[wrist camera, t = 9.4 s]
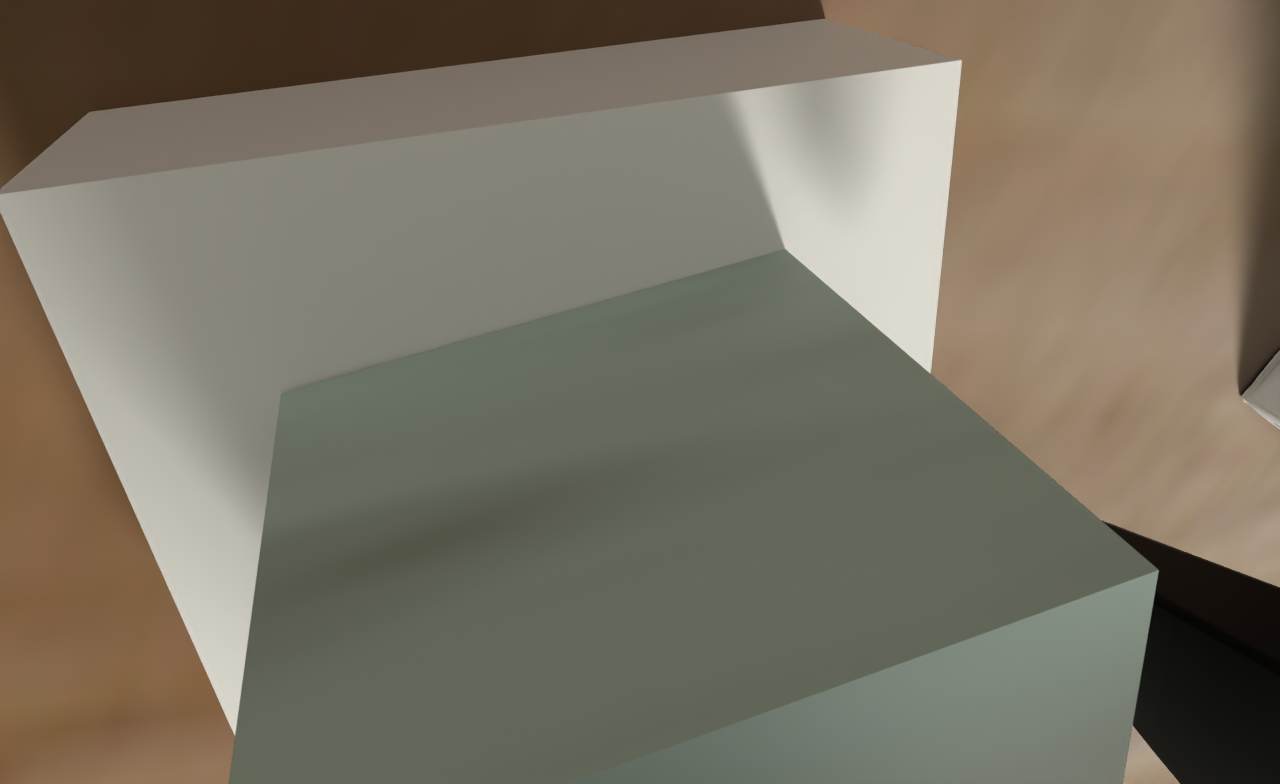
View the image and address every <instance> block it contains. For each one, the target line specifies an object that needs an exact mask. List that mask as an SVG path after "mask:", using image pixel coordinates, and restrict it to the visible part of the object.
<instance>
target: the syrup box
mask: <svg viewBox="0 0 1280 784" xmlns="http://www.w3.org/2000/svg"><path fill="white" fill-rule="evenodd" d="M1242 399H1243V401H1244V402H1245V403H1247V404H1249V405H1250V406H1251V407H1252V408H1253V409H1254V410H1255V411H1256V412H1258V413H1259V414H1260V415H1261V416H1263V417H1264V418H1265V419H1266V420H1268V421H1269V422H1270V423H1272V424H1273V425H1275V426H1276V427H1277V428H1279V429H1280V350H1279V351H1278V353H1277V354H1276V355H1275V356H1274V357H1273V359H1272V360H1271V361H1270V362H1269V363H1268V365H1267V366H1266V367H1265V368H1264V370H1263V371H1262V372H1261V373H1260V374H1259V376H1258V377H1257V378H1256V380H1255V381H1254V382H1253V384H1252V385H1251V386H1250V387H1249V388H1248V389H1247V390H1246V391H1245V392H1244V394H1243V395H1242Z"/></svg>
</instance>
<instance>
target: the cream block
mask: <svg viewBox="0 0 1280 784" xmlns="http://www.w3.org/2000/svg"><path fill="white" fill-rule="evenodd" d="M961 65H962V60H960V59H957V58H954V57H950V56H947V55H944V54H940V53H937V52H934V51H931V50H927V49H924V48H921V47H917V46H914V45H911V44H907V43H904V42H901V41H898V40H894V39H891V38H888V37H884V36H881V35H878V34H875V33H871V32H868V31H865V30H861V29H858V28H855V27H852V26H848V25H845V24H842V23H838V22H835V21H832V20H828V19H818V20H810V21H802V22H794V23H786V24H779V25H771V26H763V27H755V28H747V29H739V30H731V31H723V32H715V33H708V34H700V35H692V36H684V37H676V38H668V39H660V40H652V41H644V42H637V43H629V44H621V45H613V46H605V47H597V48H589V49H581V50H573V51H565V52H558V53H550V54H542V55H534V56H526V57H518V58H510V59H502V60H494V61H487V62H479V63H471V64H463V65H455V66H447V67H439V68H431V69H423V70H416V71H408V72H400V73H392V74H384V75H376V76H368V77H360V78H352V79H345V80H337V81H329V82H321V83H313V84H305V85H297V86H289V87H281V88H274V89H266V90H258V91H250V92H242V93H234V94H226V95H218V96H210V97H203V98H195V99H187V100H179V101H171V102H163V103H155V104H147V105H139V106H132V107H124V108H116V109H108V110H100V111H92V112H89V113H88V114H86V115H85V116H84V117H83V118H82V119H81V120H79V121H78V122H77V123H76V124H75V125H74V126H72V127H71V128H70V129H69V130H68V131H67V132H66V133H64V134H63V135H62V136H61V137H60V138H59V139H57V140H56V141H55V142H54V143H53V144H52V145H50V146H49V147H48V148H47V149H46V150H45V151H44V152H42V153H41V154H40V155H39V156H38V157H37V158H35V159H34V160H33V161H32V162H31V163H30V164H29V165H27V166H26V167H25V168H24V169H23V170H22V171H20V172H19V173H18V174H17V175H16V176H15V177H13V178H12V179H11V180H10V181H9V182H8V183H7V184H5V185H4V186H3V187H2V188H1V189H0V213H1V215H2V217H3V219H4V222H5V224H6V226H7V228H8V231H9V233H10V235H11V237H12V239H13V242H14V244H15V246H16V248H17V251H18V253H19V255H20V257H21V260H22V262H23V264H24V266H25V268H26V271H27V273H28V275H29V277H30V280H31V282H32V284H33V286H34V289H35V291H36V293H37V295H38V298H39V300H40V302H41V304H42V306H43V309H44V311H45V313H46V315H47V318H48V320H49V322H50V324H51V327H52V329H53V331H54V333H55V335H56V338H57V340H58V342H59V344H60V347H61V349H62V351H63V353H64V356H65V358H66V360H67V362H68V364H69V367H70V369H71V371H72V373H73V376H74V378H75V380H76V382H77V385H78V387H79V389H80V391H81V393H82V396H83V398H84V400H85V402H86V405H87V407H88V409H89V411H90V414H91V416H92V418H93V420H94V422H95V425H96V427H97V429H98V431H99V434H100V436H101V438H102V440H103V443H104V445H105V447H106V449H107V452H108V454H109V456H110V458H111V460H112V463H113V465H114V467H115V469H116V472H117V474H118V476H119V478H120V481H121V483H122V485H123V487H124V489H125V492H126V494H127V496H128V498H129V501H130V503H131V505H132V507H133V510H134V512H135V514H136V516H137V518H138V521H139V523H140V525H141V527H142V530H143V532H144V534H145V536H146V539H147V541H148V543H149V545H150V547H151V550H152V552H153V554H154V556H155V559H156V561H157V563H158V565H159V568H160V570H161V572H162V574H163V577H164V579H165V581H166V583H167V585H168V588H169V590H170V592H171V594H172V597H173V599H174V601H175V603H176V606H177V608H178V610H179V612H180V614H181V617H182V619H183V621H184V623H185V626H186V628H187V630H188V632H189V635H190V637H191V639H192V641H193V643H194V646H195V648H196V650H197V652H198V655H199V657H200V659H201V661H202V664H203V666H204V668H205V670H206V672H207V675H208V677H209V679H210V681H211V684H212V686H213V688H214V690H215V693H216V695H217V697H218V699H219V701H220V704H221V706H222V708H223V710H224V713H225V715H226V717H227V719H228V722H229V724H230V726H231V728H232V731H233V733H234V735H235V733H236V726H237V718H238V711H239V703H240V696H241V688H242V681H243V674H244V666H245V659H246V651H247V644H248V636H249V629H250V621H251V614H252V606H253V599H254V591H255V584H256V576H257V569H258V561H259V554H260V546H261V539H262V531H263V524H264V517H265V509H266V502H267V494H268V487H269V479H270V472H271V464H272V457H273V449H274V442H275V434H276V427H277V419H278V412H279V404H280V397H281V393H285V392H288V391H292V390H295V389H299V388H302V387H306V386H309V385H313V384H316V383H320V382H323V381H327V380H330V379H334V378H337V377H341V376H344V375H347V374H351V373H354V372H358V371H361V370H365V369H368V368H372V367H375V366H379V365H382V364H386V363H389V362H393V361H396V360H400V359H403V358H407V357H410V356H414V355H417V354H421V353H424V352H428V351H431V350H435V349H438V348H441V347H445V346H448V345H452V344H455V343H459V342H462V341H466V340H469V339H473V338H476V337H480V336H483V335H487V334H490V333H494V332H497V331H501V330H504V329H508V328H511V327H515V326H518V325H522V324H525V323H529V322H532V321H535V320H539V319H542V318H546V317H549V316H553V315H556V314H560V313H563V312H567V311H570V310H574V309H577V308H581V307H584V306H588V305H591V304H595V303H598V302H602V301H605V300H609V299H612V298H616V297H619V296H623V295H626V294H629V293H633V292H636V291H640V290H643V289H647V288H650V287H654V286H657V285H661V284H664V283H668V282H671V281H675V280H678V279H682V278H685V277H689V276H692V275H696V274H699V273H703V272H706V271H710V270H713V269H717V268H720V267H723V266H727V265H730V264H734V263H737V262H741V261H744V260H748V259H751V258H755V257H758V256H762V255H765V254H769V253H772V252H776V251H779V250H783V249H786V250H787V251H788V252H789V253H790V254H792V255H793V256H794V257H795V258H796V259H797V260H799V261H800V262H801V263H802V264H803V265H804V266H806V267H807V268H808V269H809V270H810V271H811V272H813V273H814V274H815V275H816V276H817V277H818V278H820V279H821V280H822V281H823V282H824V283H825V284H827V285H828V286H829V287H830V288H831V289H832V290H834V291H835V292H836V293H837V294H838V295H839V296H841V297H842V298H843V299H844V300H845V301H846V302H847V303H849V304H850V305H851V306H852V307H853V308H854V309H856V310H857V311H858V312H859V313H860V314H861V315H863V316H864V317H865V318H866V319H867V320H868V321H870V322H871V323H872V324H873V325H874V326H875V327H877V328H878V329H879V330H880V331H881V332H882V333H884V334H885V335H886V336H887V337H888V338H889V339H891V340H892V341H893V342H894V343H895V344H896V345H898V346H899V347H900V348H901V349H902V350H903V351H905V352H906V353H907V354H908V355H909V356H910V357H911V358H913V359H914V360H915V361H916V362H917V363H918V364H920V365H921V366H922V367H923V368H924V369H925V370H927V371H928V372H929V373H930V374H931V364H932V354H933V344H934V334H935V324H936V314H937V304H938V294H939V284H940V274H941V264H942V254H943V244H944V234H945V224H946V214H947V204H948V194H949V184H950V174H951V164H952V154H953V144H954V134H955V124H956V114H957V104H958V94H959V84H960V74H961Z"/></svg>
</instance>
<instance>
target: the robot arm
mask: <svg viewBox="0 0 1280 784" xmlns="http://www.w3.org/2000/svg"><path fill="white" fill-rule="evenodd" d="M1101 521H1102V520H1101ZM1102 522H1103V523H1105V524H1106V525H1107V526H1108V527H1109V528H1110V529H1112V530H1113V531H1114V532H1115V533H1116V534H1117V535H1119V536H1120V537H1121V538H1122V539H1123V540H1124V541H1126V542H1127V543H1128V544H1129V545H1130V546H1131V547H1133V548H1134V549H1135V550H1136V551H1137V552H1138V553H1140V554H1141V555H1142V556H1143V557H1144V558H1145V559H1147V560H1148V561H1149V562H1150V563H1151V564H1152V565H1154V566H1155V567H1156V568H1157V569H1158V570H1159V572H1158V578H1157V584H1156V590H1155V596H1154V602H1153V608H1152V613H1151V619H1150V625H1149V631H1148V637H1147V643H1146V649H1145V655H1144V661H1143V666H1142V672H1141V678H1140V684H1139V690H1138V696H1137V702H1136V708H1135V714H1134V719H1133V726H1134V727H1135V729H1136V730H1137V731H1138V732H1139V734H1140V735H1141V736H1142V737H1143V739H1144V740H1145V741H1146V743H1147V744H1148V745H1149V746H1150V748H1151V749H1152V750H1153V751H1154V752H1155V754H1156V755H1157V756H1158V757H1159V758H1160V760H1161V761H1162V762H1163V763H1164V764H1165V766H1166V767H1167V768H1168V769H1169V771H1170V772H1171V773H1172V774H1173V775H1174V777H1175V778H1176V779H1177V780H1178V781H1179V783H1180V784H1280V587H1277V586H1274V585H1272V584H1269V583H1266V582H1264V581H1261V580H1258V579H1256V578H1253V577H1250V576H1248V575H1245V574H1242V573H1240V572H1237V571H1235V570H1232V569H1229V568H1227V567H1224V566H1221V565H1219V564H1216V563H1213V562H1211V561H1208V560H1205V559H1203V558H1200V557H1197V556H1195V555H1192V554H1189V553H1187V552H1184V551H1181V550H1179V549H1176V548H1173V547H1171V546H1168V545H1166V544H1163V543H1160V542H1158V541H1155V540H1152V539H1150V538H1147V537H1144V536H1142V535H1139V534H1136V533H1134V532H1131V531H1128V530H1126V529H1123V528H1120V527H1118V526H1115V525H1112V524H1110V523H1107V522H1104V521H1102Z"/></svg>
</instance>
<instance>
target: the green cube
mask: <svg viewBox="0 0 1280 784" xmlns="http://www.w3.org/2000/svg"><path fill="white" fill-rule="evenodd" d="M1158 572H1159V570H1158V569H1157V568H1156V567H1155V566H1154V565H1152V564H1151V563H1150V562H1149V561H1148V560H1147V559H1145V558H1144V557H1143V556H1142V555H1141V554H1140V553H1138V552H1137V551H1136V550H1135V549H1134V548H1133V547H1131V546H1130V545H1129V544H1128V543H1127V542H1126V541H1124V540H1123V539H1122V538H1121V537H1120V536H1119V535H1117V534H1116V533H1115V532H1114V531H1113V530H1112V529H1110V528H1109V527H1108V526H1107V525H1106V524H1105V523H1103V522H1102V521H1101V520H1100V519H1099V518H1098V517H1096V516H1095V515H1094V514H1093V513H1092V512H1091V511H1090V510H1088V509H1087V508H1086V507H1085V506H1084V505H1083V504H1081V503H1080V502H1079V501H1078V500H1077V499H1076V498H1074V497H1073V496H1072V495H1071V494H1070V493H1069V492H1067V491H1066V490H1065V489H1064V488H1063V487H1062V486H1060V485H1059V484H1058V483H1057V482H1056V481H1055V480H1053V479H1052V478H1051V477H1050V476H1049V475H1048V474H1046V473H1045V472H1044V471H1043V470H1042V469H1041V468H1039V467H1038V466H1037V465H1036V464H1035V463H1034V462H1033V461H1031V460H1030V459H1029V458H1028V457H1027V456H1026V455H1024V454H1023V453H1022V452H1021V451H1020V450H1019V449H1017V448H1016V447H1015V446H1014V445H1013V444H1012V443H1010V442H1009V441H1008V440H1007V439H1006V438H1005V437H1003V436H1002V435H1001V434H1000V433H999V432H998V431H996V430H995V429H994V428H993V427H992V426H991V425H989V424H988V423H987V422H986V421H985V420H984V419H982V418H981V417H980V416H979V415H978V414H977V413H975V412H974V411H973V410H972V409H971V408H970V407H969V406H967V405H966V404H965V403H964V402H963V401H962V400H960V399H959V398H958V397H957V396H956V395H955V394H953V393H952V392H951V391H950V390H949V389H948V388H946V387H945V386H944V385H943V384H942V383H941V382H939V381H938V380H937V379H936V378H935V377H934V376H932V375H931V374H930V373H929V372H928V371H927V370H925V369H924V368H923V367H922V366H921V365H920V364H918V363H917V362H916V361H915V360H914V359H913V358H911V357H910V356H909V355H908V354H907V353H906V352H905V351H903V350H902V349H901V348H900V347H899V346H898V345H896V344H895V343H894V342H893V341H892V340H891V339H889V338H888V337H887V336H886V335H885V334H884V333H882V332H881V331H880V330H879V329H878V328H877V327H875V326H874V325H873V324H872V323H871V322H870V321H868V320H867V319H866V318H865V317H864V316H863V315H861V314H860V313H859V312H858V311H857V310H856V309H854V308H853V307H852V306H851V305H850V304H849V303H847V302H846V301H845V300H844V299H843V298H842V297H841V296H839V295H838V294H837V293H836V292H835V291H834V290H832V289H831V288H830V287H829V286H828V285H827V284H825V283H824V282H823V281H822V280H821V279H820V278H818V277H817V276H816V275H815V274H814V273H813V272H811V271H810V270H809V269H808V268H807V267H806V266H804V265H803V264H802V263H801V262H800V261H799V260H797V259H796V258H795V257H794V256H793V255H792V254H790V253H789V252H788V251H787V250H786V249H783V250H779V251H776V252H772V253H769V254H765V255H762V256H758V257H755V258H751V259H748V260H744V261H741V262H737V263H734V264H730V265H727V266H723V267H720V268H717V269H713V270H710V271H706V272H703V273H699V274H696V275H692V276H689V277H685V278H682V279H678V280H675V281H671V282H668V283H664V284H661V285H657V286H654V287H650V288H647V289H643V290H640V291H636V292H633V293H629V294H626V295H623V296H619V297H616V298H612V299H609V300H605V301H602V302H598V303H595V304H591V305H588V306H584V307H581V308H577V309H574V310H570V311H567V312H563V313H560V314H556V315H553V316H549V317H546V318H542V319H539V320H535V321H532V322H529V323H525V324H522V325H518V326H515V327H511V328H508V329H504V330H501V331H497V332H494V333H490V334H487V335H483V336H480V337H476V338H473V339H469V340H466V341H462V342H459V343H455V344H452V345H448V346H445V347H441V348H438V349H435V350H431V351H428V352H424V353H421V354H417V355H414V356H410V357H407V358H403V359H400V360H396V361H393V362H389V363H386V364H382V365H379V366H375V367H372V368H368V369H365V370H361V371H358V372H354V373H351V374H347V375H344V376H341V377H337V378H334V379H330V380H327V381H323V382H320V383H316V384H313V385H309V386H306V387H302V388H299V389H295V390H292V391H288V392H285V393H281V397H280V404H279V412H278V419H277V427H276V434H275V442H274V449H273V457H272V464H271V472H270V479H269V487H268V494H267V502H266V509H265V517H264V524H263V531H262V539H261V546H260V554H259V561H258V569H257V576H256V584H255V591H254V599H253V606H252V614H251V621H250V629H249V636H248V644H247V651H246V659H245V666H244V674H243V681H242V688H241V696H240V703H239V711H238V718H237V726H236V733H235V741H234V748H233V756H232V763H231V771H230V778H229V784H1123V778H1124V772H1125V767H1126V761H1127V755H1128V749H1129V743H1130V737H1131V731H1132V725H1133V719H1134V714H1135V708H1136V702H1137V696H1138V690H1139V684H1140V678H1141V672H1142V666H1143V661H1144V655H1145V649H1146V643H1147V637H1148V631H1149V625H1150V619H1151V613H1152V608H1153V602H1154V596H1155V590H1156V584H1157V578H1158Z"/></svg>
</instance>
